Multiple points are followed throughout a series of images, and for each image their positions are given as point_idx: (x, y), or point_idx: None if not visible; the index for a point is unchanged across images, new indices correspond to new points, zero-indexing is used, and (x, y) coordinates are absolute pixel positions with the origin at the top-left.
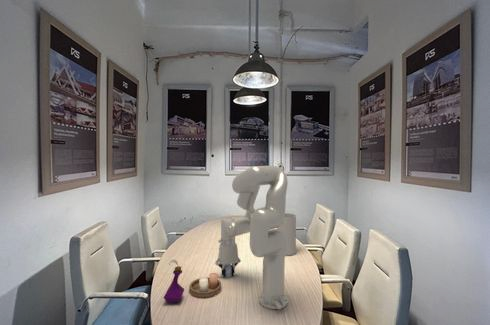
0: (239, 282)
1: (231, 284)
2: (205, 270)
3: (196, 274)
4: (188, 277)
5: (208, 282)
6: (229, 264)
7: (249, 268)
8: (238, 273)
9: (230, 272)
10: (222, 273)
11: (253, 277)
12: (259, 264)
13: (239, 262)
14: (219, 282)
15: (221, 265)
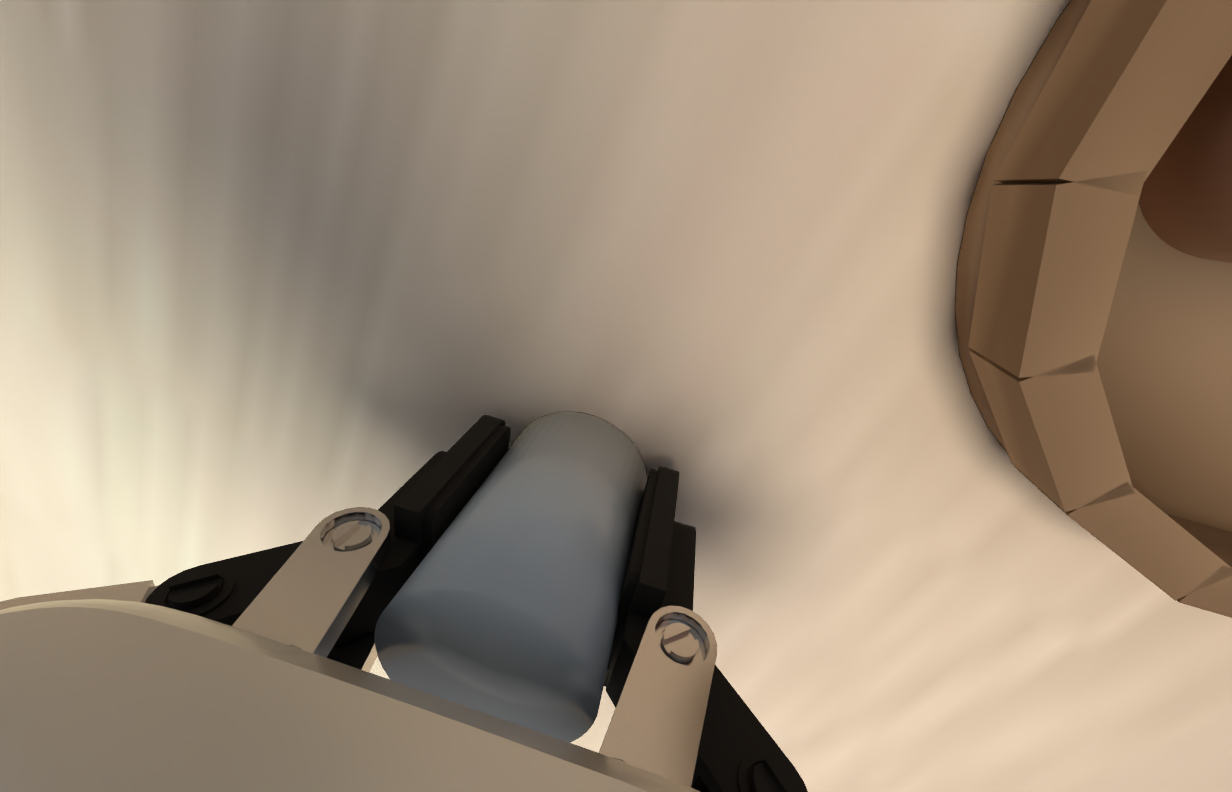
0: (459, 118)
1: (669, 117)
2: None
3: (999, 776)
4: (1195, 788)
5: (1157, 443)
6: (431, 685)
7: (196, 498)
8: (381, 462)
9: (518, 470)
10: (690, 544)
11: (147, 185)
12: (60, 512)
13: (76, 591)
14: (1168, 90)
15: (714, 774)
